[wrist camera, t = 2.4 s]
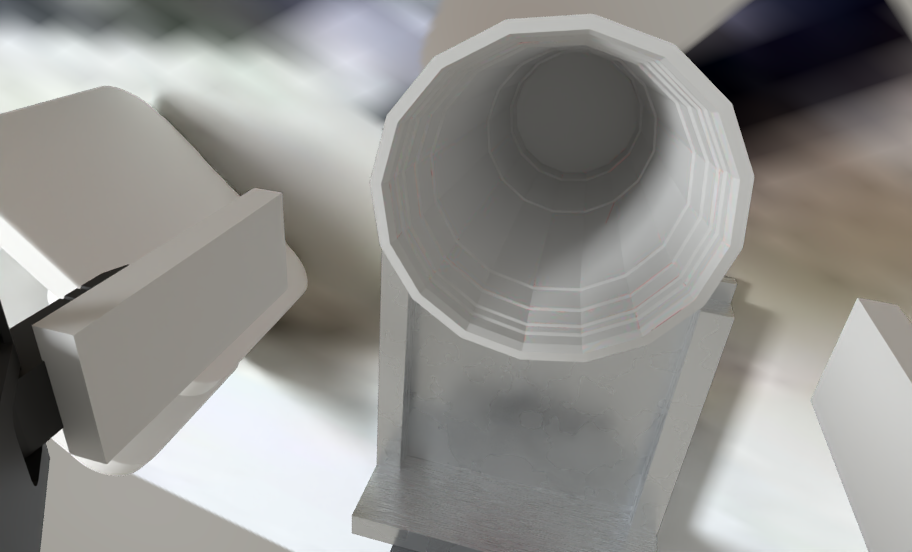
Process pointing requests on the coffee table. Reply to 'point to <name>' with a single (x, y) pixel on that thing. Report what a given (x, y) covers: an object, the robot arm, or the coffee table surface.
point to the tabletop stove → (530, 436)
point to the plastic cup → (561, 188)
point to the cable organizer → (109, 223)
